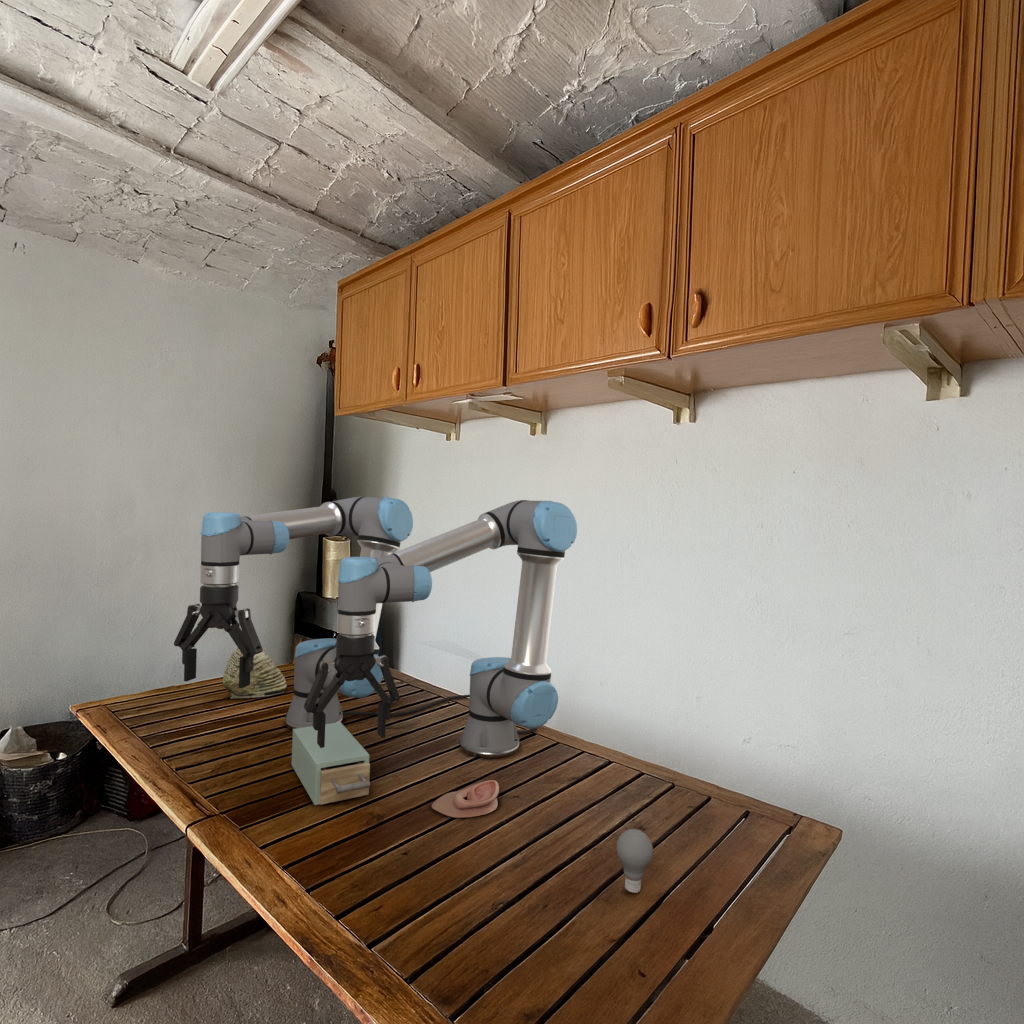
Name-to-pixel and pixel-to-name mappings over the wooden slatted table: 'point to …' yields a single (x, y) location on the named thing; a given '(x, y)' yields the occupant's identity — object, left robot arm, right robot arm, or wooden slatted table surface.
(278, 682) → the fossil
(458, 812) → the anatomical model
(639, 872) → the light bulb
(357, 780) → the drawer
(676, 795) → the wooden slatted table surface
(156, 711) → the wooden slatted table surface
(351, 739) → the cabinet
